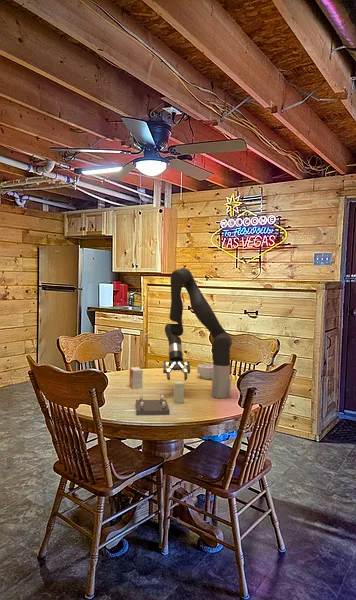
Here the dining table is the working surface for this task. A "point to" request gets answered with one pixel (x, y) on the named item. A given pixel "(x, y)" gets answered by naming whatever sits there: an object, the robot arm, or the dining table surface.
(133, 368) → the small box
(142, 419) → the dining table surface
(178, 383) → the beige tall block
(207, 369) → the paper bowls
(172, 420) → the dining table surface
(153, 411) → the pin plate
